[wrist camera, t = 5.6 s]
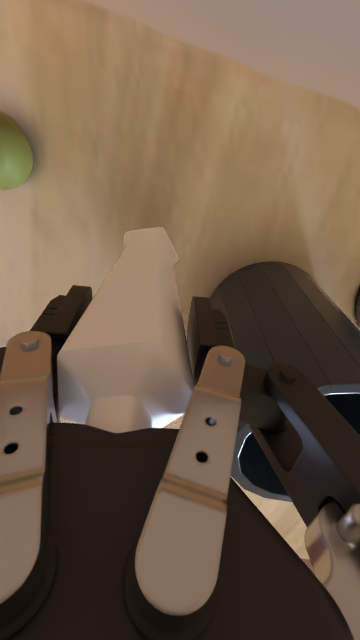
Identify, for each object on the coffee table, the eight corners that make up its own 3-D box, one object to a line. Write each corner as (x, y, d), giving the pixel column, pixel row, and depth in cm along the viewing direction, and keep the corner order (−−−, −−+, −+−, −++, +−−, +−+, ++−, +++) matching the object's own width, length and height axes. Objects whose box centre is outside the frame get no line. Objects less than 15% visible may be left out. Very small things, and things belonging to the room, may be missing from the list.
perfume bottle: (197, 239, 19) (244, 457, 7) (165, 292, 21) (155, 535, 9) (131, 203, 18) (36, 388, 5) (104, 263, 20) (-11, 500, 7)
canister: (197, 353, 36) (210, 498, 22) (218, 253, 29) (257, 372, 15) (296, 362, 37) (369, 506, 23) (339, 268, 30) (481, 392, 16)
